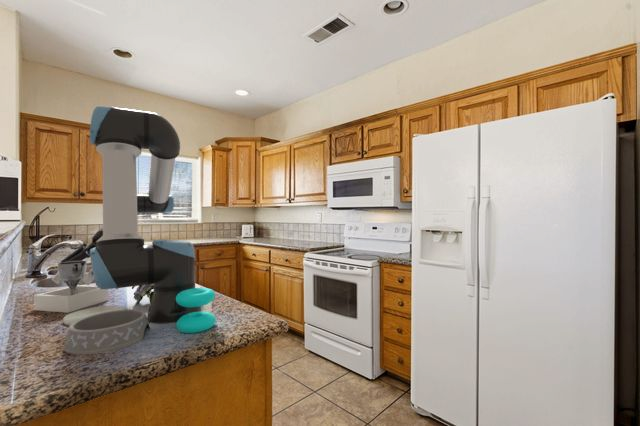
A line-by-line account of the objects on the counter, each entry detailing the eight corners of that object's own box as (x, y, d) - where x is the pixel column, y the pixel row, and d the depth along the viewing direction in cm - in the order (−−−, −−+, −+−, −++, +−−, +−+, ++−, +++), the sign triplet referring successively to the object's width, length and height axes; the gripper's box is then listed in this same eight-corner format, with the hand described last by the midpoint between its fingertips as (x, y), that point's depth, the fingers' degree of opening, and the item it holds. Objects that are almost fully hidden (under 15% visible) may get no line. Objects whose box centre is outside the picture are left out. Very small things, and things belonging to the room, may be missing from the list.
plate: (134, 310, 102) (134, 306, 102) (91, 327, 87) (91, 323, 87) (97, 308, 105) (97, 304, 105) (50, 323, 91) (49, 319, 91)
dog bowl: (49, 361, 68) (48, 336, 68) (86, 330, 86) (86, 311, 86) (137, 350, 73) (136, 327, 73) (155, 323, 90) (155, 304, 90)
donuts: (215, 285, 92) (213, 294, 82) (216, 319, 92) (214, 332, 82) (179, 288, 89) (172, 297, 79) (179, 323, 89) (173, 336, 79)
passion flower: (138, 320, 108) (126, 290, 112) (170, 307, 116) (158, 279, 119) (142, 308, 101) (129, 276, 104) (176, 295, 108) (163, 266, 112)
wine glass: (52, 307, 107) (51, 263, 107) (76, 301, 114) (75, 260, 114) (69, 309, 105) (68, 264, 105) (92, 302, 112) (91, 260, 112)
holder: (108, 300, 115) (107, 286, 115) (68, 312, 101) (68, 297, 101) (77, 298, 118) (77, 285, 118) (34, 310, 104) (34, 295, 104)
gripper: (139, 242, 123) (105, 289, 109) (89, 241, 129) (51, 286, 114) (128, 229, 118) (91, 277, 103) (76, 229, 124) (34, 275, 109)
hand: (69, 282), depth 109 cm, fingers open, 13 cm apart
